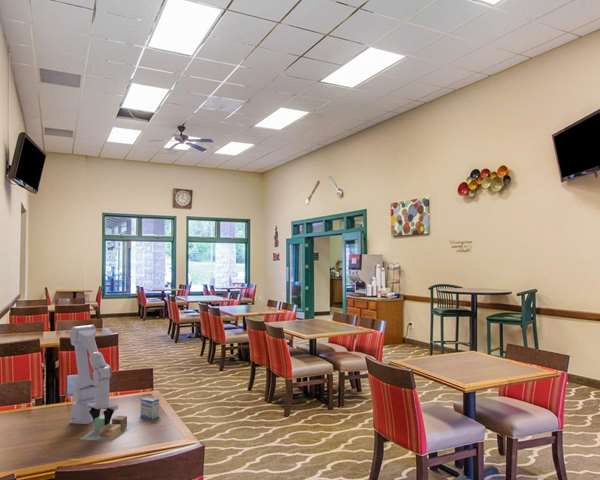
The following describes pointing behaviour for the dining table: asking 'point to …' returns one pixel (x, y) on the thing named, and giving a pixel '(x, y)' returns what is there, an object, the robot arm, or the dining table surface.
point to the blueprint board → (96, 436)
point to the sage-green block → (99, 422)
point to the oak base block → (110, 430)
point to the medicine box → (149, 408)
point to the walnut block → (120, 421)
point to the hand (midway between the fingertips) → (102, 425)
